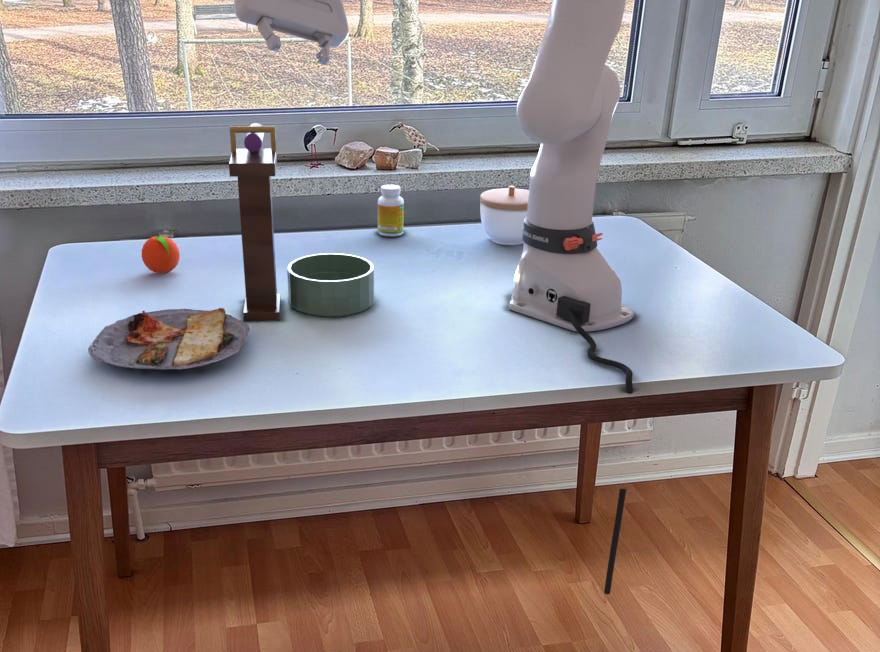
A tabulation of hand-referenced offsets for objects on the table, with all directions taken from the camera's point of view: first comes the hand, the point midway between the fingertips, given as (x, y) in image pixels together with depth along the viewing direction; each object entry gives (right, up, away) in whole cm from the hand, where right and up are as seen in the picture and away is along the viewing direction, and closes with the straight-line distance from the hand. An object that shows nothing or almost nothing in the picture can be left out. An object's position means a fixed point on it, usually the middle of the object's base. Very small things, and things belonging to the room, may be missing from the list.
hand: (299, 55), depth 162 cm
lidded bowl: (+39, -19, +46) cm, 63 cm away
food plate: (-19, -48, -5) cm, 52 cm away
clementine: (-28, -30, +25) cm, 48 cm away
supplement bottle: (+14, -17, +49) cm, 53 cm away
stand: (-7, -40, +10) cm, 42 cm away
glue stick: (-8, -14, +3) cm, 16 cm away
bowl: (+4, -38, +13) cm, 40 cm away
